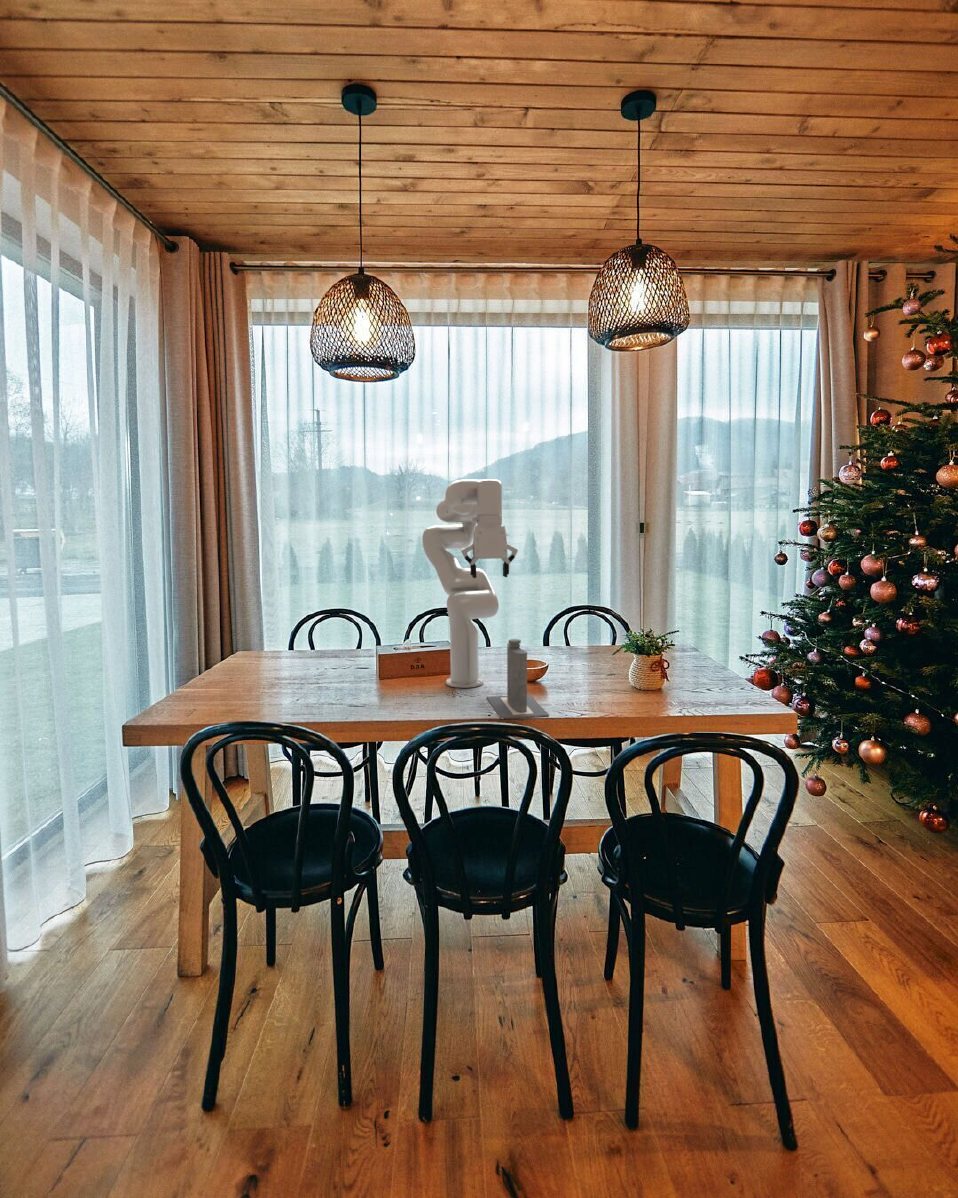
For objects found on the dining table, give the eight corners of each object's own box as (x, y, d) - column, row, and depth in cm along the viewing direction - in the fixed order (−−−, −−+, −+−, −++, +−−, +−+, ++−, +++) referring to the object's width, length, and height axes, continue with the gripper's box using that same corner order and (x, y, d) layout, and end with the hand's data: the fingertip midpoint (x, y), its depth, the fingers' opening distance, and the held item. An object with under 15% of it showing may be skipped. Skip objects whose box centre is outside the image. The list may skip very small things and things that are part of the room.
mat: (486, 698, 217) (486, 696, 217) (529, 695, 219) (529, 694, 219) (501, 719, 195) (501, 717, 195) (548, 716, 198) (548, 714, 198)
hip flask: (527, 712, 200) (528, 644, 197) (514, 713, 199) (514, 645, 197) (516, 697, 215) (516, 634, 213) (503, 698, 215) (503, 635, 212)
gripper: (463, 521, 203) (463, 579, 206) (520, 520, 206) (520, 577, 209) (459, 521, 211) (460, 576, 213) (514, 520, 214) (514, 575, 216)
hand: (489, 577), depth 211 cm, fingers open, 9 cm apart
